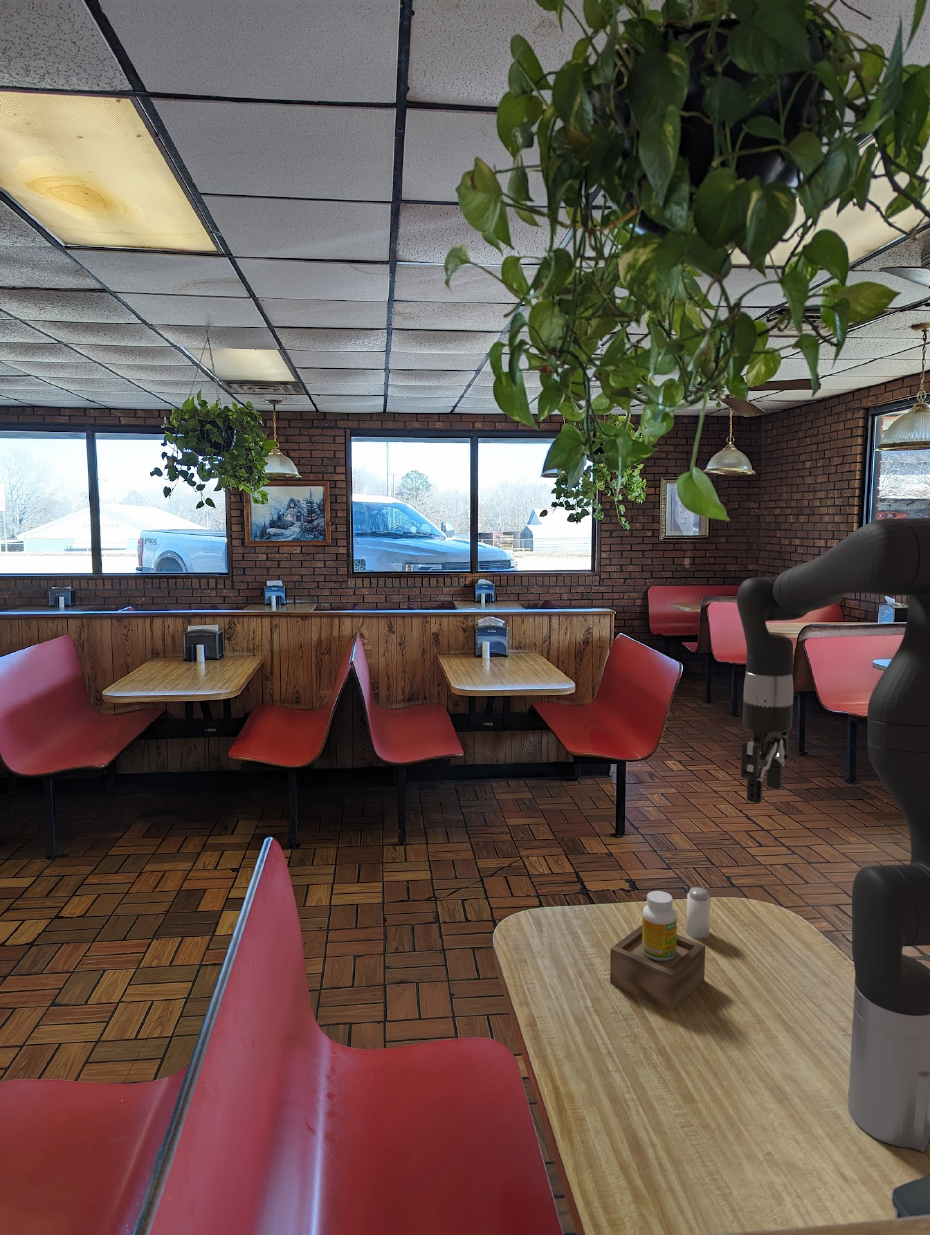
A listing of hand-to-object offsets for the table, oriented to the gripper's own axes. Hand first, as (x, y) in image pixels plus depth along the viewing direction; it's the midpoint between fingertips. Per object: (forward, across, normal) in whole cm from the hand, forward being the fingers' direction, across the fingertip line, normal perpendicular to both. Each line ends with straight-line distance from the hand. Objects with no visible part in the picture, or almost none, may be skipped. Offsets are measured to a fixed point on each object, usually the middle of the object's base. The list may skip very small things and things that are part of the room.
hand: (764, 794), depth 126 cm
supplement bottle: (+25, -16, +10) cm, 31 cm away
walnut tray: (+30, -16, +10) cm, 35 cm away
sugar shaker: (+30, +2, +12) cm, 32 cm away
